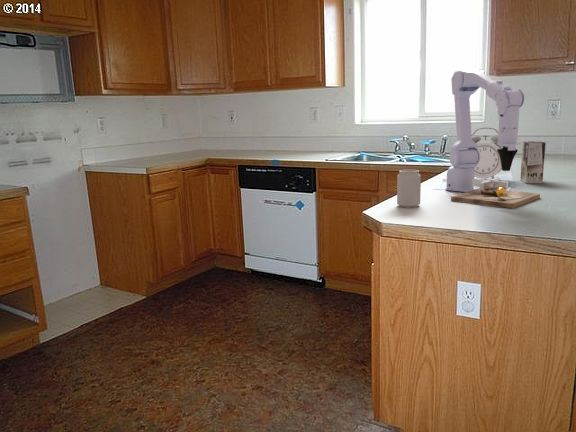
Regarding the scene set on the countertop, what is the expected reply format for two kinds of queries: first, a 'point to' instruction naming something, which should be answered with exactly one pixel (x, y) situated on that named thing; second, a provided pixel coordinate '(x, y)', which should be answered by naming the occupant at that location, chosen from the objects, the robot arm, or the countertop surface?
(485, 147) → the alarm clock
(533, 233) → the countertop surface
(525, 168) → the coffee box
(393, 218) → the countertop surface
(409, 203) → the can
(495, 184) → the capstan
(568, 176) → the countertop surface
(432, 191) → the countertop surface
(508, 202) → the lever board
